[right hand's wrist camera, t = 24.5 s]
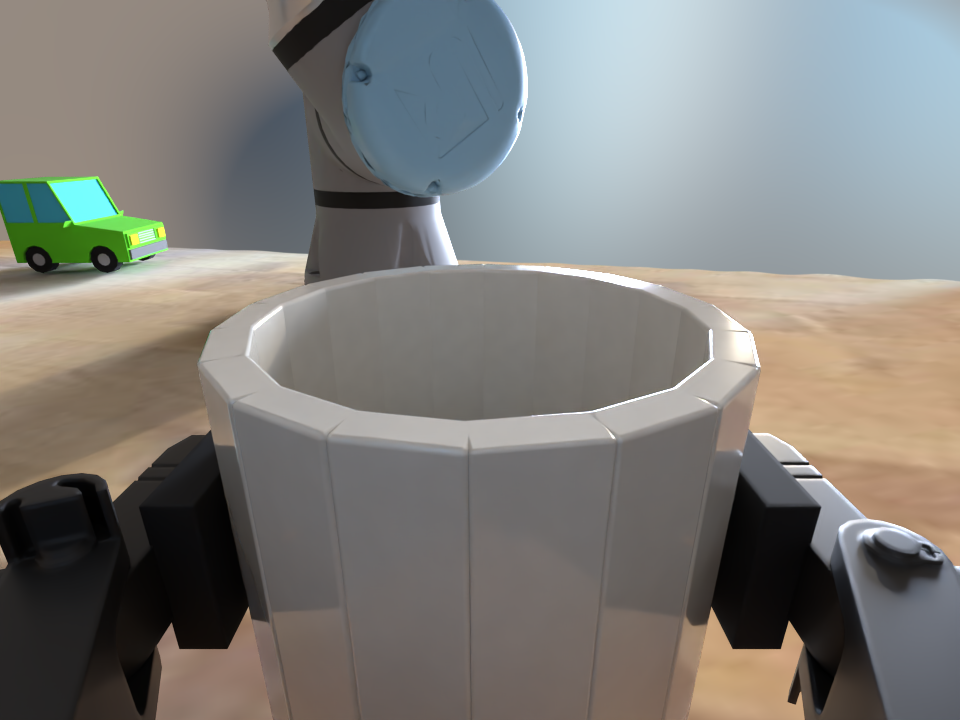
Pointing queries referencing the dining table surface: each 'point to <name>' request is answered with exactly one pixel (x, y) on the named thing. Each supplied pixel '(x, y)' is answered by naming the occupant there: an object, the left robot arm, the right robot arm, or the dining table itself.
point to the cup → (479, 489)
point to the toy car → (73, 225)
